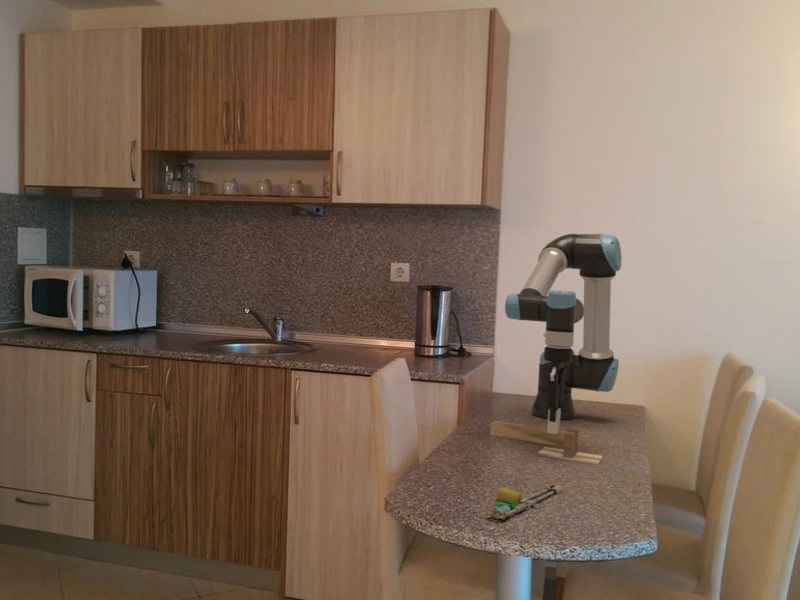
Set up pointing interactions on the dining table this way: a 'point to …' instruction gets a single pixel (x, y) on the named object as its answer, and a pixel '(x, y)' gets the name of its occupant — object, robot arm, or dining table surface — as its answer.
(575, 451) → the fulcrum stand
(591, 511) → the dining table surface
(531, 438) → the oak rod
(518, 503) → the flamethrower
